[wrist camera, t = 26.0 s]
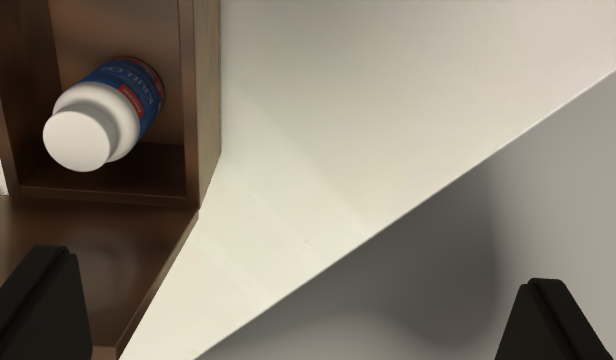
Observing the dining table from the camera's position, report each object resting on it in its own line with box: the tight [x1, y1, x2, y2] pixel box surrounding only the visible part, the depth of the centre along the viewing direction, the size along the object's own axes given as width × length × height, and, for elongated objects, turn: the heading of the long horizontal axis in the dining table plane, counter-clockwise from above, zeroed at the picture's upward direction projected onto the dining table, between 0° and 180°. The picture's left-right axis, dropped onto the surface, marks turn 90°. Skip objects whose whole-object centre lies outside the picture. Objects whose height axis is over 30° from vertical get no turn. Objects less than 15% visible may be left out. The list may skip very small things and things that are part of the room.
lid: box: [0, 195, 199, 360], centre depth 28 cm, size 16×13×6 cm
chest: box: [0, 0, 221, 210], centre depth 35 cm, size 15×13×9 cm
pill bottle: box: [43, 57, 164, 172], centre depth 35 cm, size 6×5×10 cm
